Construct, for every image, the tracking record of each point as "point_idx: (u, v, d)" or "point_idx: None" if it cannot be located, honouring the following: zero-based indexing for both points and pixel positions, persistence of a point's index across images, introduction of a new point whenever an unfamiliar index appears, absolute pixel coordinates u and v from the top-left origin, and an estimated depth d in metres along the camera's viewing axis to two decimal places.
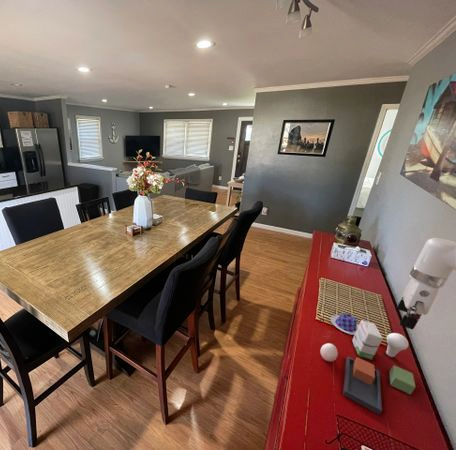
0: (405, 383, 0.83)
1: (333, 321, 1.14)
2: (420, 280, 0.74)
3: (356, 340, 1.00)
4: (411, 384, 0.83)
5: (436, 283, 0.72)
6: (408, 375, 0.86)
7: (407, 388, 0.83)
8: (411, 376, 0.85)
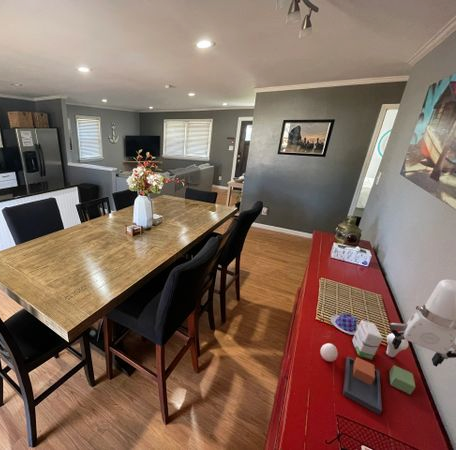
0: (405, 383, 0.83)
1: (333, 321, 1.14)
2: None
3: (356, 340, 1.00)
4: (411, 384, 0.83)
5: (423, 313, 0.76)
6: (408, 375, 0.86)
7: (407, 388, 0.83)
8: (411, 376, 0.85)
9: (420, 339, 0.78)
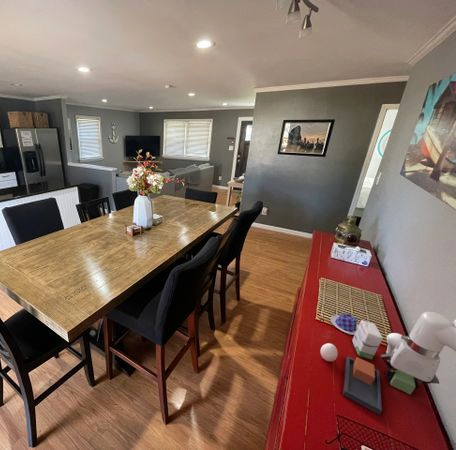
0: (405, 383, 0.83)
1: (333, 321, 1.14)
2: None
3: (356, 340, 1.00)
4: (411, 384, 0.83)
5: (408, 343, 0.81)
6: (408, 375, 0.86)
7: (407, 388, 0.83)
8: (411, 376, 0.85)
9: (405, 367, 0.82)
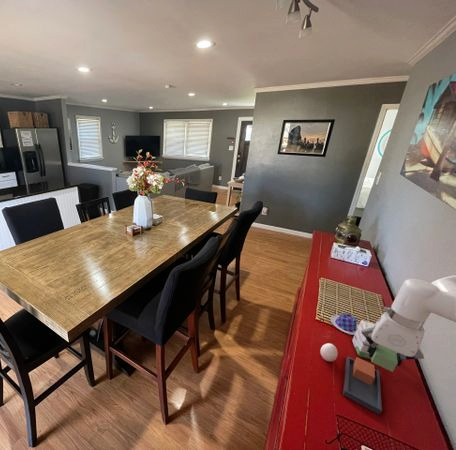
0: (387, 359, 0.76)
1: (333, 321, 1.14)
2: None
3: (356, 340, 1.00)
4: (393, 360, 0.75)
5: (389, 314, 0.73)
6: (390, 351, 0.78)
7: (389, 365, 0.76)
8: (394, 352, 0.78)
9: (387, 341, 0.74)
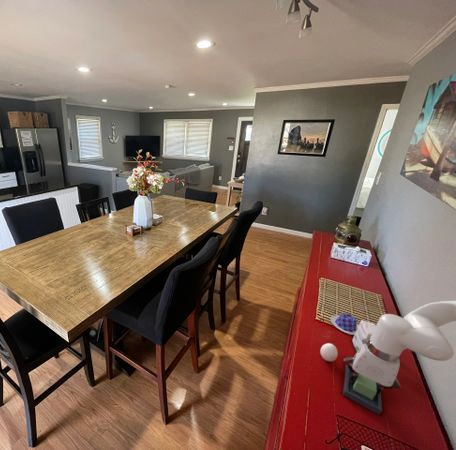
0: (367, 388, 0.80)
1: (333, 321, 1.14)
2: None
3: (356, 340, 1.00)
4: (372, 389, 0.79)
5: (368, 346, 0.78)
6: None
7: (369, 393, 0.80)
8: None
9: (366, 371, 0.79)
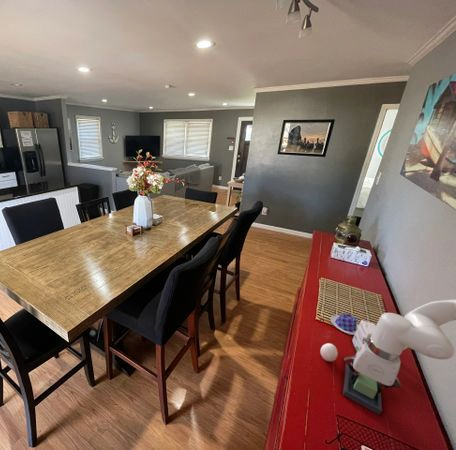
0: (367, 387, 0.80)
1: (333, 321, 1.14)
2: None
3: (356, 340, 1.00)
4: (373, 388, 0.79)
5: (369, 345, 0.78)
6: (371, 378, 0.82)
7: (369, 392, 0.80)
8: (374, 380, 0.82)
9: (367, 370, 0.79)
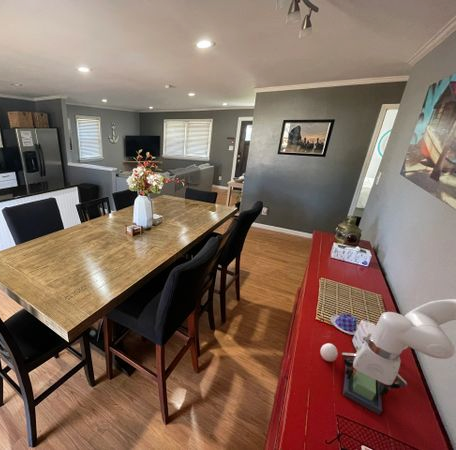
0: (366, 389, 0.80)
1: (333, 321, 1.14)
2: None
3: (356, 340, 1.00)
4: (372, 390, 0.80)
5: (369, 344, 0.78)
6: (370, 380, 0.83)
7: (368, 394, 0.80)
8: (373, 382, 0.82)
9: (367, 369, 0.79)
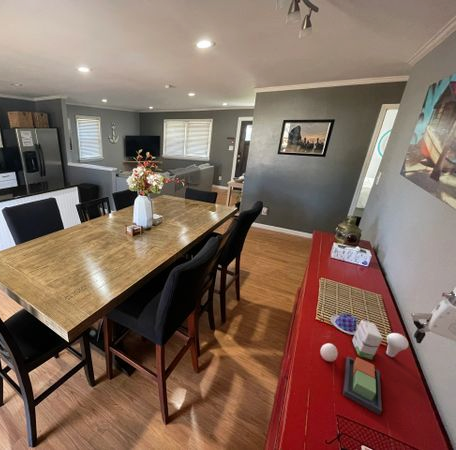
0: (366, 389, 0.80)
1: (333, 321, 1.14)
2: None
3: (356, 340, 1.00)
4: (372, 390, 0.80)
5: (451, 300, 0.67)
6: (370, 380, 0.83)
7: (368, 394, 0.80)
8: (373, 382, 0.82)
9: (448, 331, 0.68)
